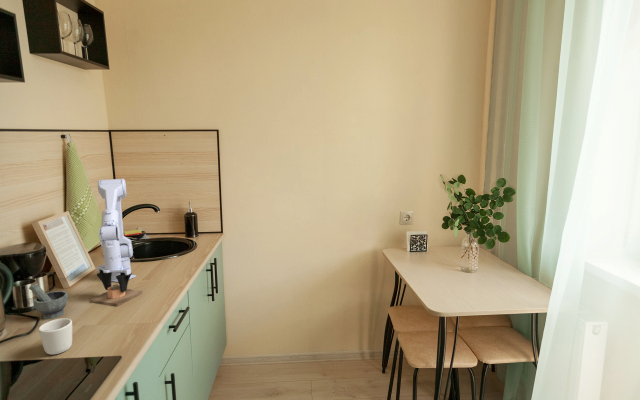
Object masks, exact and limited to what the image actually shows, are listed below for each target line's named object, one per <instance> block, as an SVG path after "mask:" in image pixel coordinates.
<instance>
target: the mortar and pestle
mask: <svg viewBox="0 0 640 400" xmlns="http://www.w3.org/2000/svg"><path fill="white" fill-rule="evenodd" d="M28 289H29V290H30V291H31V292H32V293H33V294H34V296H35V298H34V299H33V305H34V306H33V307H34V309H35V310H36V311H37V312H38V313H41V314H42V319H44V320H54V319H58V318H60V317H62V316H63V315H64V314H65V310H64V309H65V308H66V305H67V303H68V301H69V292H68V291H65V290H56V291H55V290H54V291H49V292H45V291H44V290H43V289H42V288H41V287H40V284H39V283H38V282H35V283H32V284H31V285H30V286H29V287H28Z"/></svg>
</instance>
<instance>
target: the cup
mask: <svg viewBox="0 0 640 400" xmlns="http://www.w3.org/2000/svg"><path fill="white" fill-rule="evenodd" d="M38 333H39V337H40V340H41V343H42V348H43V350H44V352H45V353H46V354H47V355H59V354H61V353H64V352H66V351H68V350H69V349H70V348H71V347H72V344H73V320H72V319H71V318H67V317H66V318H65V317H64V318H62V317H61V318H55V319H51V320H49V321H47V322H44V323H43V324H42V325H40V326H39V328H38Z"/></svg>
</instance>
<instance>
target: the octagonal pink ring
mask: <svg viewBox="0 0 640 400" xmlns="http://www.w3.org/2000/svg"><path fill="white" fill-rule="evenodd" d="M106 292H107V293H108V298H119V297H122V296H124V295H125V292H121V291H120V286H119V289H116V290H113V285H111V287H109V288H107V290H106Z"/></svg>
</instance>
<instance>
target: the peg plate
mask: <svg viewBox="0 0 640 400" xmlns="http://www.w3.org/2000/svg"><path fill="white" fill-rule="evenodd" d="M112 286H113V290H116V289H119V283H118V284H117V283H115V284H113V285H112ZM141 294H143V291H142V290H138V289H130V288H127V291H125V295H124V296H122V297H119V298H108V293H107V291H105V292H103V293H101V294H98V295H96V296H94V297H93V298H91V299H89V301H90V303H96V304H99V305H106V306H112V307H113V306H114V307H119V306H121V305H123V304H125V303H127V302H128V301H130V300H132V299H134V298H136V297H138V296H140V295H141Z"/></svg>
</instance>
